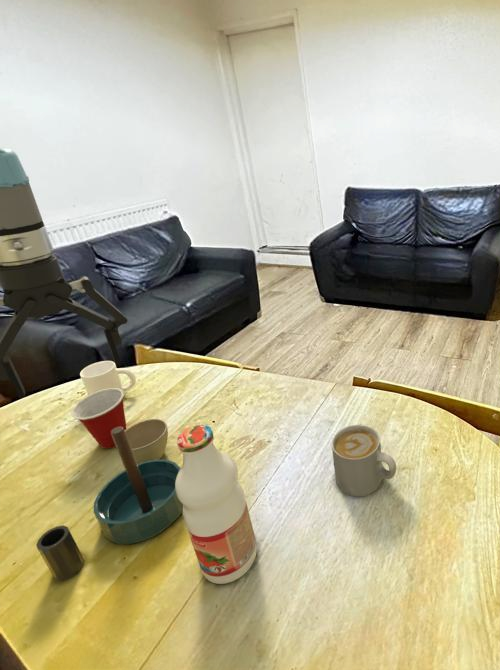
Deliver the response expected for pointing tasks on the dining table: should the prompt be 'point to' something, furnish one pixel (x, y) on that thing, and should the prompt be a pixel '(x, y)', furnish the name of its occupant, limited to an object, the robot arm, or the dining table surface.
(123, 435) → the stick
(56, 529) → the utensil pot
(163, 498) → the bowl
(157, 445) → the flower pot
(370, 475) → the coffee mug
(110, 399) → the plastic cup
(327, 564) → the dining table surface
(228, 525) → the fruit juice
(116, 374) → the mug
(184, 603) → the dining table surface
